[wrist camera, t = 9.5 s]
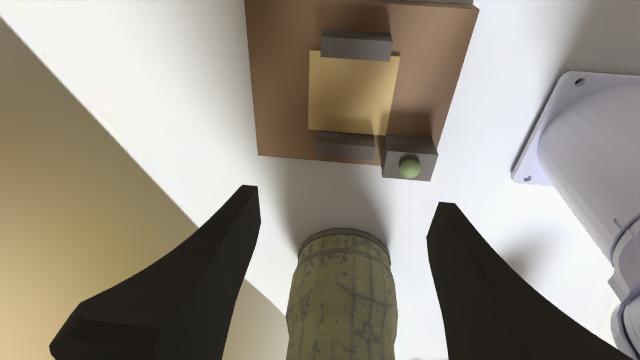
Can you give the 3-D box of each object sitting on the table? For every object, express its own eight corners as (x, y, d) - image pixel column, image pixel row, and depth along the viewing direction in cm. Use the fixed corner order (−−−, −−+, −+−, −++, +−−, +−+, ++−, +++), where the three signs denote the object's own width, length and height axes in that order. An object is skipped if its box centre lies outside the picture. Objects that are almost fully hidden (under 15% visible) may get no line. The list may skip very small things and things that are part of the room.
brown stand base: (472, 4, 18) (495, 21, 15) (427, 159, 24) (437, 192, 21) (249, -10, 18) (230, 4, 15) (261, 146, 24) (249, 176, 22)
